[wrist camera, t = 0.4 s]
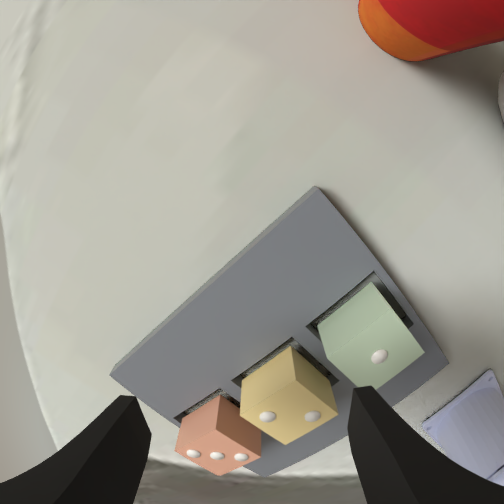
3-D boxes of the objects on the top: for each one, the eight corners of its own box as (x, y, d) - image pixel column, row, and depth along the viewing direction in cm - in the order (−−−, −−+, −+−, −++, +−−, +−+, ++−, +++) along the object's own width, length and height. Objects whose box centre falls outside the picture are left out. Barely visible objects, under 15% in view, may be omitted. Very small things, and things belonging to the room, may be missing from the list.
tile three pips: (260, 423, 21) (261, 458, 18) (222, 444, 22) (218, 477, 19) (220, 394, 20) (215, 430, 17) (182, 418, 21) (174, 451, 18)
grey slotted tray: (442, 354, 20) (449, 362, 19) (264, 467, 24) (264, 477, 23) (314, 185, 17) (318, 188, 16) (114, 365, 21) (109, 375, 20)
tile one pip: (404, 323, 18) (425, 353, 15) (354, 362, 19) (367, 396, 16) (371, 281, 17) (392, 308, 14) (317, 325, 18) (327, 359, 15)
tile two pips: (329, 380, 20) (338, 415, 16) (282, 410, 20) (285, 446, 17) (290, 345, 19) (296, 381, 16) (241, 379, 20) (239, 416, 16)
